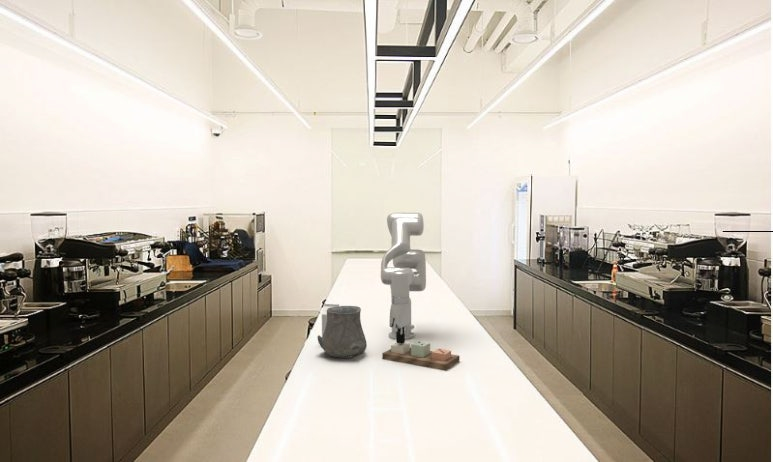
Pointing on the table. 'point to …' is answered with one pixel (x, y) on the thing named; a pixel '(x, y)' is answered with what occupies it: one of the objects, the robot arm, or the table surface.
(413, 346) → the tile two pip
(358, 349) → the vessel
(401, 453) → the table surface
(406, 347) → the tile one pip
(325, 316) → the milk carton
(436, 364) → the tray
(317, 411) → the table surface
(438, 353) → the tile three pip
